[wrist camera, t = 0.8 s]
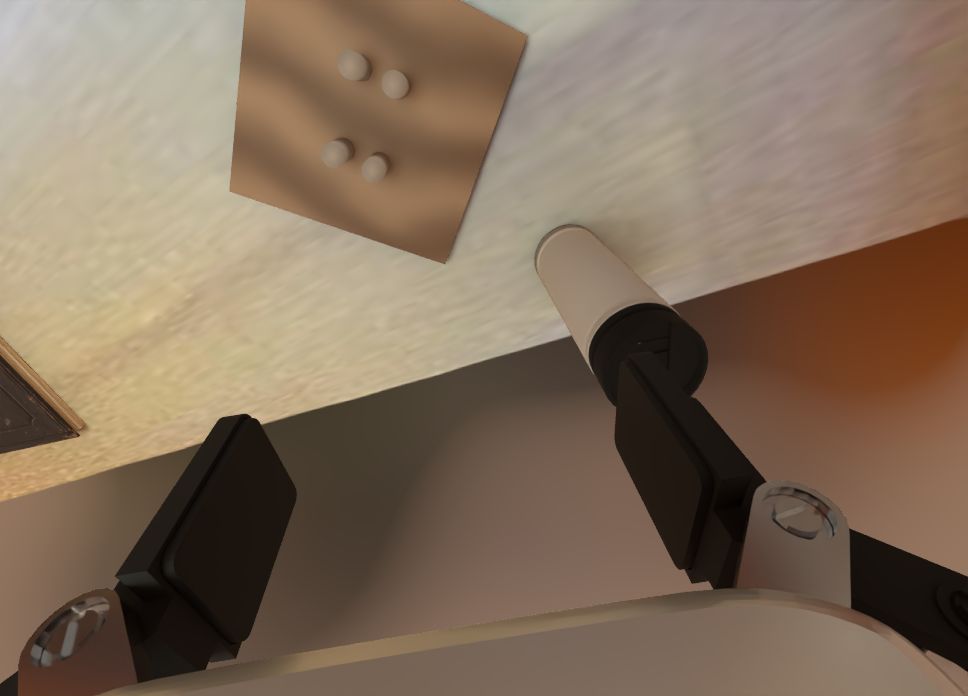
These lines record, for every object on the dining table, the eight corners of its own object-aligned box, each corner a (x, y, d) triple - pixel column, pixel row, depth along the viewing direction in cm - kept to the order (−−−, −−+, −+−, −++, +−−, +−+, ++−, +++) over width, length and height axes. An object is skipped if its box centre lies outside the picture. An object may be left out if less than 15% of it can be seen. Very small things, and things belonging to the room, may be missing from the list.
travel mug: (537, 294, 42) (606, 433, 25) (530, 231, 38) (604, 342, 21) (598, 282, 42) (708, 413, 25) (597, 217, 38) (723, 318, 21)
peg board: (264, -98, 26) (226, -139, 21) (523, 38, 31) (539, 29, 26) (237, 187, 34) (205, 202, 29) (444, 258, 39) (446, 281, 34)
